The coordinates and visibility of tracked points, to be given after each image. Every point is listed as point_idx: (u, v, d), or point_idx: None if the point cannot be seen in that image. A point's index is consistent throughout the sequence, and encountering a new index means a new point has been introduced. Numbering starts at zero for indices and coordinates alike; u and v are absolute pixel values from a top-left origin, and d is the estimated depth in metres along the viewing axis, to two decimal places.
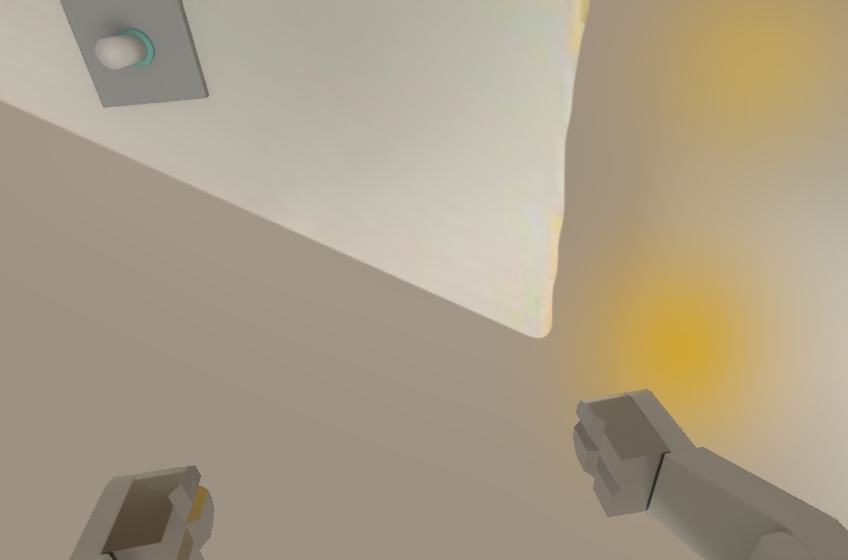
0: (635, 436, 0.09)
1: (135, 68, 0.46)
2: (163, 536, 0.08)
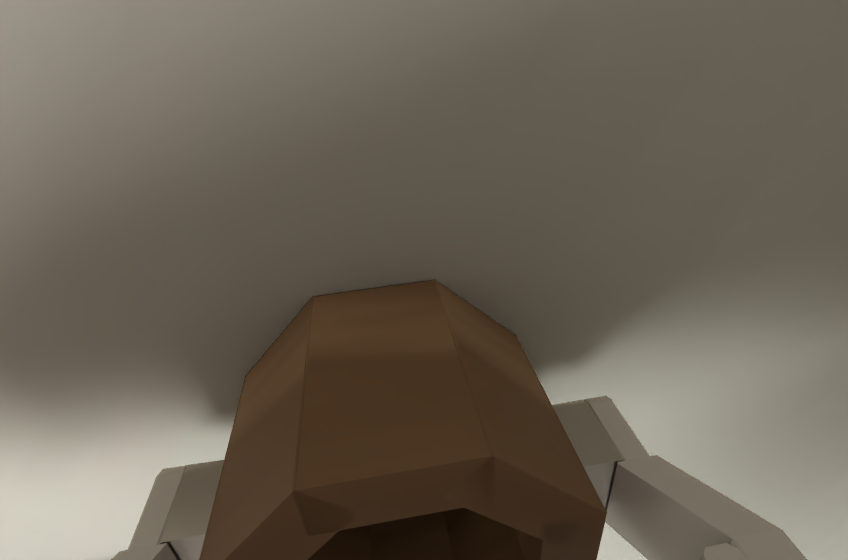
0: (590, 444, 0.09)
1: None
2: None
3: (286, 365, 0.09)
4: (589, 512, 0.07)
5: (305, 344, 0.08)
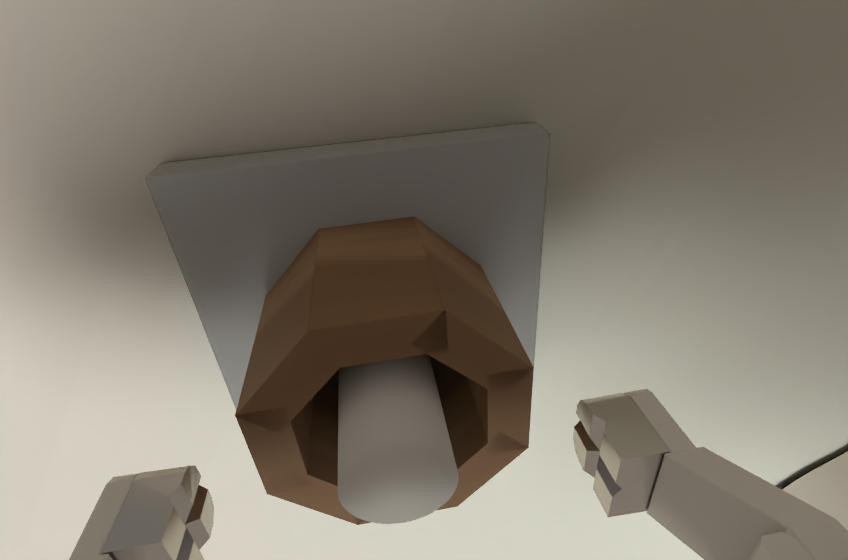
0: (635, 435, 0.09)
1: None
2: (163, 536, 0.08)
3: (299, 274, 0.11)
4: (520, 366, 0.10)
5: (314, 257, 0.11)
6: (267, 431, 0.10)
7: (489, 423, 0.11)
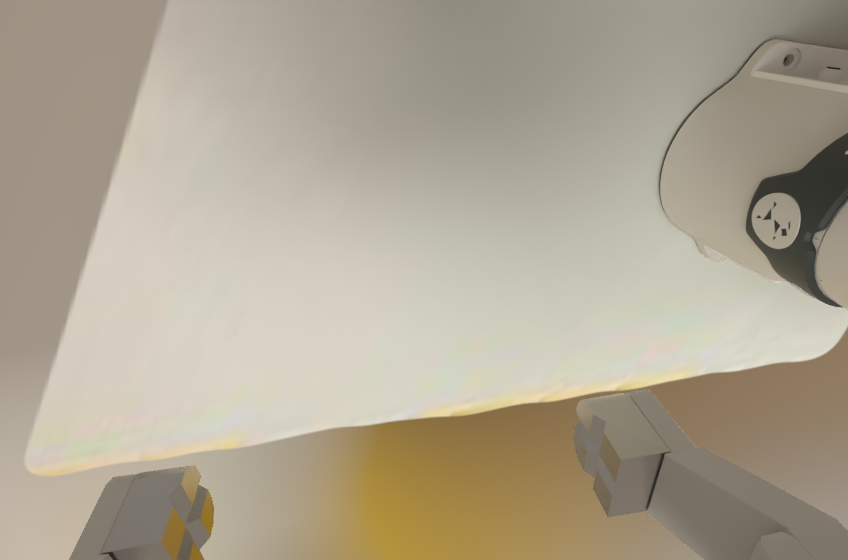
0: (635, 436, 0.09)
1: None
2: (163, 536, 0.08)
3: None
4: None
5: None
6: None
7: None
